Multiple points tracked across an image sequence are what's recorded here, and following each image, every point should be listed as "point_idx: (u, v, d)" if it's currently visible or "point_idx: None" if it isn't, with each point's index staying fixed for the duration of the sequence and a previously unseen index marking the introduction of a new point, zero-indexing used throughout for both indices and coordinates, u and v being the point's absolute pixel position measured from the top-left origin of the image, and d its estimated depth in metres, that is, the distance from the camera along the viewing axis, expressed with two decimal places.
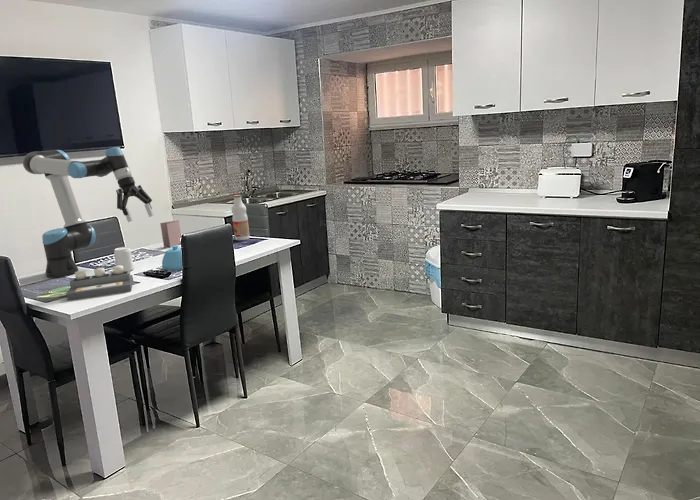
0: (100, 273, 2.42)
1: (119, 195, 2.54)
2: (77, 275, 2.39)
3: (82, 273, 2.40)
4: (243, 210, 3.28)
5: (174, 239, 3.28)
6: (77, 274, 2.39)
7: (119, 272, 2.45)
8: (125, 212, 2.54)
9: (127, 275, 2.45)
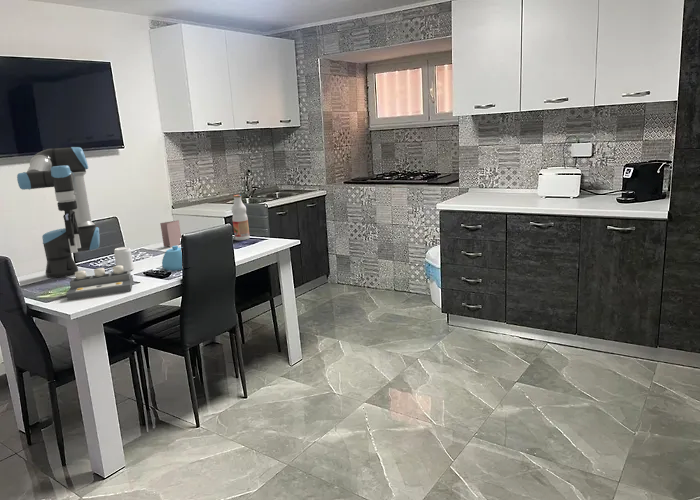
0: (100, 273, 2.42)
1: (69, 223, 2.29)
2: (77, 275, 2.39)
3: (82, 273, 2.40)
4: (243, 210, 3.28)
5: (174, 239, 3.28)
6: (77, 274, 2.39)
7: (119, 272, 2.45)
8: (73, 242, 2.32)
9: (127, 275, 2.45)
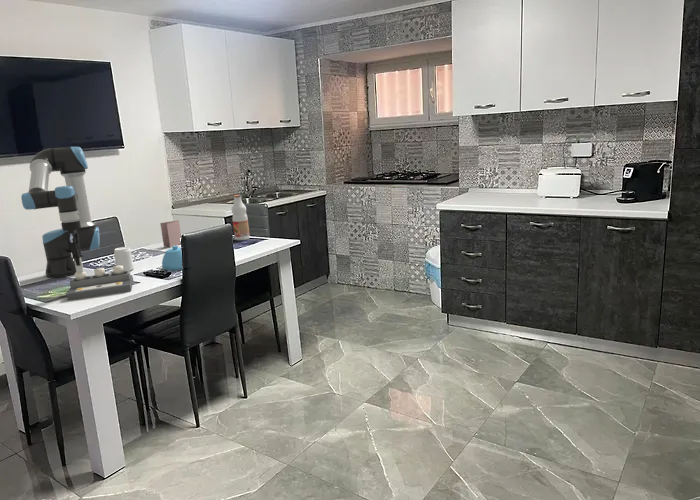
0: (100, 273, 2.42)
1: (74, 245, 2.33)
2: (77, 276, 2.39)
3: (82, 274, 2.40)
4: (243, 210, 3.28)
5: (174, 239, 3.28)
6: (77, 275, 2.39)
7: (119, 272, 2.45)
8: (79, 262, 2.38)
9: (127, 275, 2.45)
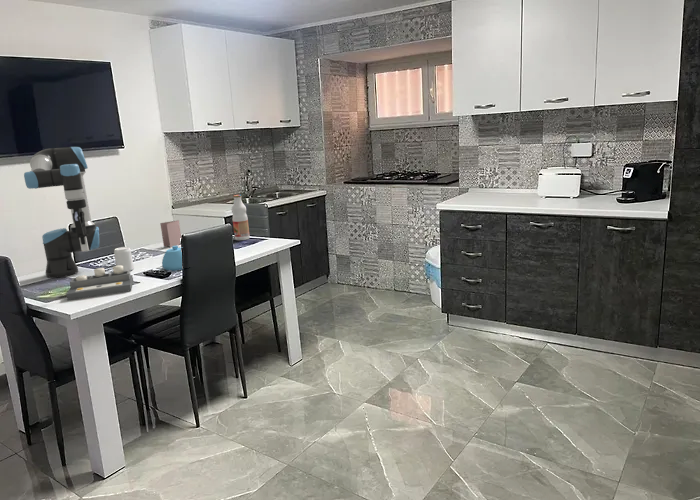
0: (100, 273, 2.42)
1: (79, 223, 2.32)
2: (78, 280, 2.40)
3: (83, 278, 2.40)
4: (243, 210, 3.28)
5: (174, 239, 3.28)
6: (78, 279, 2.40)
7: (119, 272, 2.45)
8: (84, 241, 2.37)
9: (127, 275, 2.45)
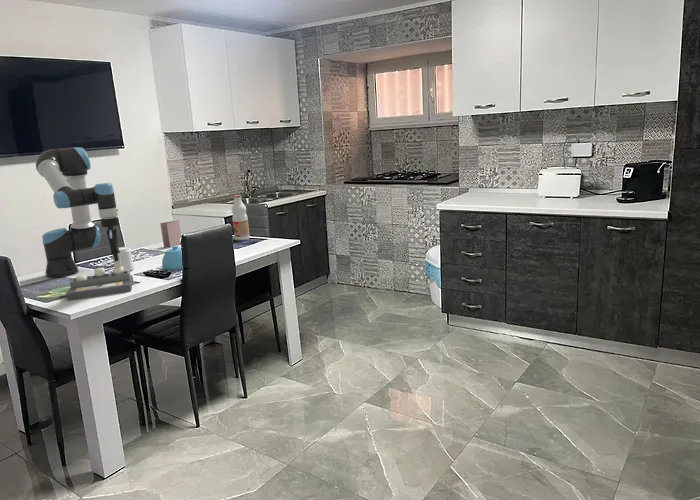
0: (100, 273, 2.42)
1: (113, 241, 2.38)
2: (78, 280, 2.40)
3: (83, 278, 2.40)
4: (243, 210, 3.28)
5: (174, 239, 3.28)
6: (78, 279, 2.40)
7: (119, 273, 2.45)
8: (117, 258, 2.43)
9: (127, 275, 2.45)
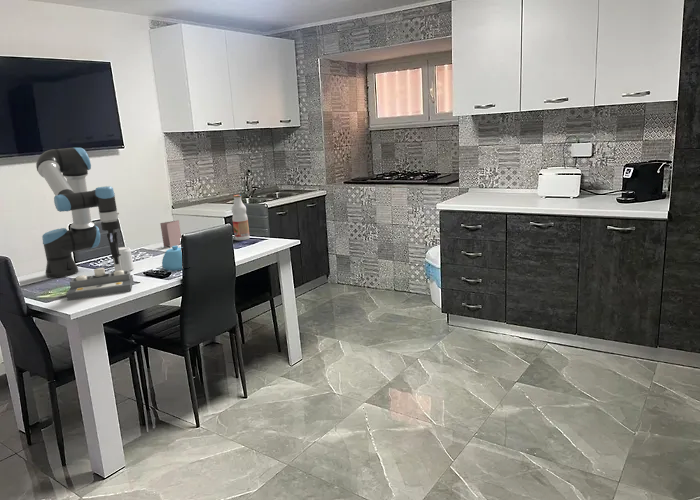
0: (100, 273, 2.42)
1: (113, 244, 2.39)
2: (78, 280, 2.40)
3: (83, 278, 2.40)
4: (243, 210, 3.28)
5: (174, 239, 3.28)
6: (78, 279, 2.40)
7: None
8: (118, 261, 2.44)
9: (127, 275, 2.45)
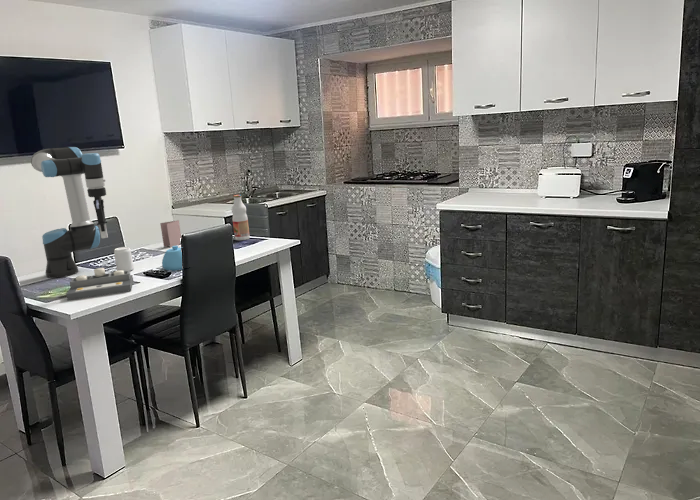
0: (100, 273, 2.42)
1: (100, 211, 2.39)
2: (78, 280, 2.40)
3: (83, 278, 2.40)
4: (243, 210, 3.28)
5: (174, 239, 3.28)
6: (78, 279, 2.40)
7: None
8: (104, 228, 2.45)
9: (127, 275, 2.45)
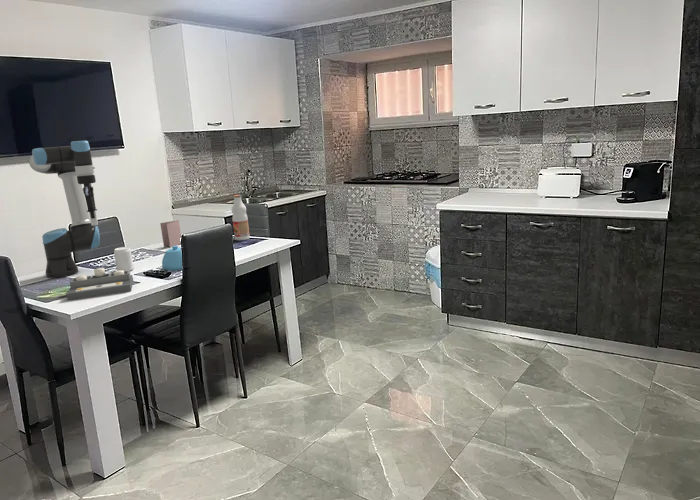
0: (100, 273, 2.42)
1: (89, 198, 2.42)
2: (78, 280, 2.40)
3: (83, 278, 2.40)
4: (243, 210, 3.28)
5: (174, 239, 3.28)
6: (78, 279, 2.40)
7: None
8: (94, 215, 2.47)
9: (127, 275, 2.45)
